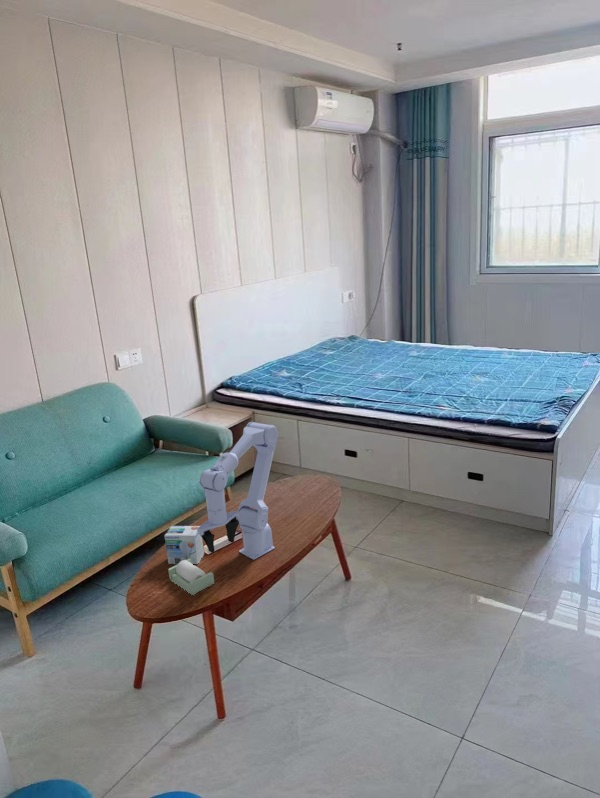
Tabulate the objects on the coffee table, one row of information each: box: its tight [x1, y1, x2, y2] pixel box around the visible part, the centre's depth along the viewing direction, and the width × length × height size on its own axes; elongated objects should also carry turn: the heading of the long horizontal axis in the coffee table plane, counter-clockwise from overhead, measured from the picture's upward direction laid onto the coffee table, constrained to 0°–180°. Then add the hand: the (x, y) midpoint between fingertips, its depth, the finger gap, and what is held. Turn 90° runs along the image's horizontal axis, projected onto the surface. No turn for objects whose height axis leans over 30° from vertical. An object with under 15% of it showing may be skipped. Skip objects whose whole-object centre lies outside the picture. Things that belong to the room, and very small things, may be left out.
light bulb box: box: [164, 525, 205, 565], centre depth 195 cm, size 11×7×11 cm, turn 82°
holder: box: [167, 558, 215, 596], centre depth 182 cm, size 13×8×4 cm, turn 44°
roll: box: [176, 560, 206, 583], centre depth 182 cm, size 9×5×5 cm, turn 43°
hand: (221, 546), depth 183 cm, fingers open, 7 cm apart
